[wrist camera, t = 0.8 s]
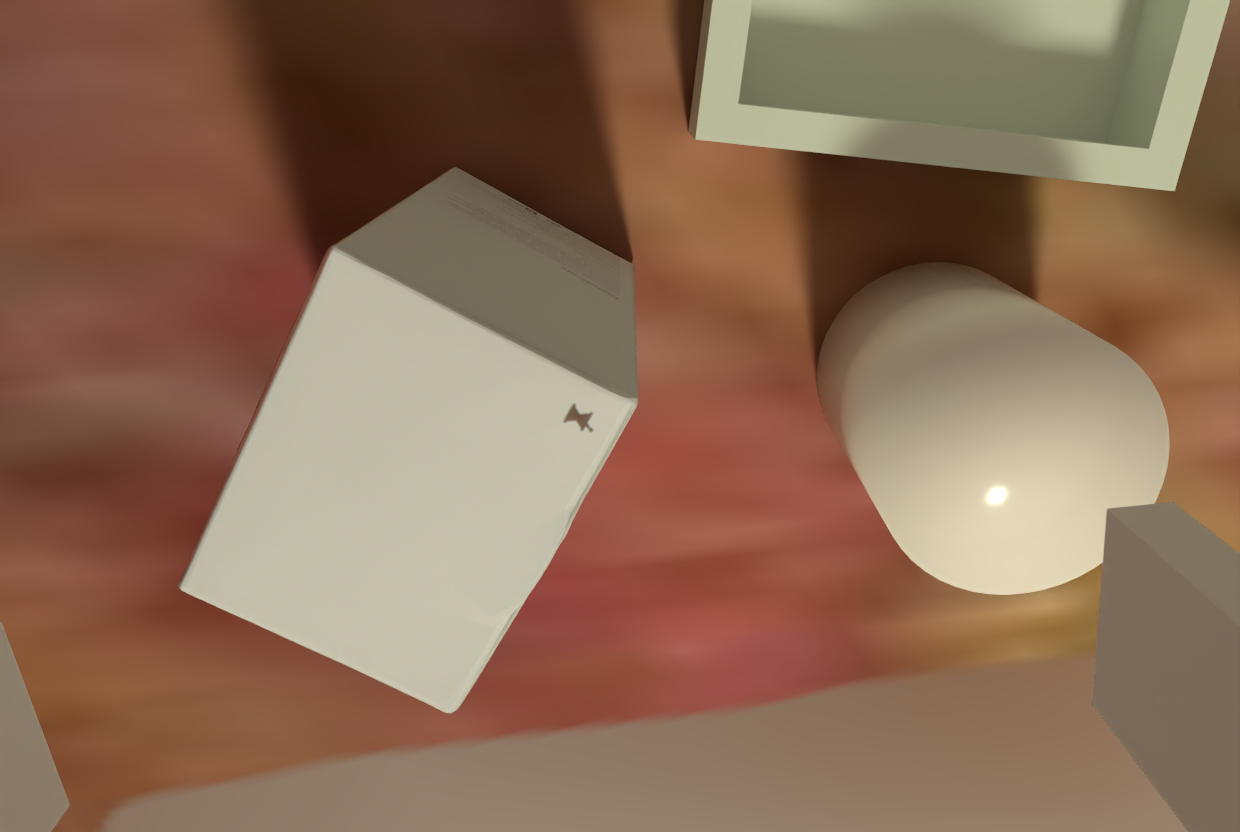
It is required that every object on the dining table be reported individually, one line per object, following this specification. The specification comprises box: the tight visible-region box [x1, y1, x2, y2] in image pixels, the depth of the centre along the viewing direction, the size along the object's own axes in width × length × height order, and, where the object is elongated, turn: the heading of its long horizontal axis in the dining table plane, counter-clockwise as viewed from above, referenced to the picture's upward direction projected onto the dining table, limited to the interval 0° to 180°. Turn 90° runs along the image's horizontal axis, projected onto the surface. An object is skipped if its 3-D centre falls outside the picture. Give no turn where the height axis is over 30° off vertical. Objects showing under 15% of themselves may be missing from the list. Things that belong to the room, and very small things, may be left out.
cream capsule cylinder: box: [817, 262, 1170, 595], centre depth 27 cm, size 7×7×8 cm
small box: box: [178, 167, 638, 713], centre depth 25 cm, size 8×6×13 cm
